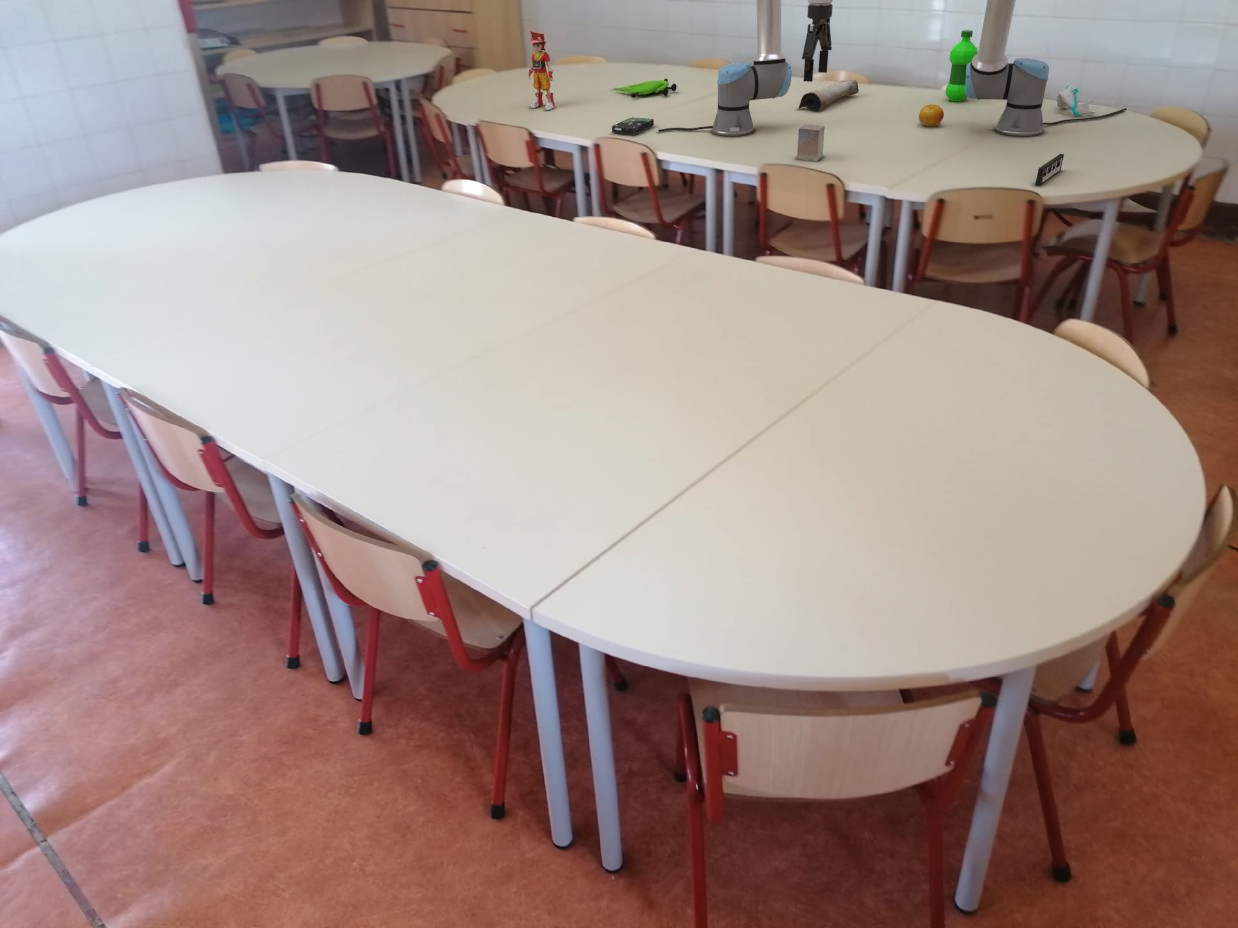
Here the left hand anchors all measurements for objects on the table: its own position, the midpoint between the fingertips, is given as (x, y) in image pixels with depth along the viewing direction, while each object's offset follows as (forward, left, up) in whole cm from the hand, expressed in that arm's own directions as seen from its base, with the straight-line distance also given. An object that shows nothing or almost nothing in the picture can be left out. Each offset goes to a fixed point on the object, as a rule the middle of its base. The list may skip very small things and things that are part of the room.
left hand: (815, 77), depth 289 cm
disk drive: (-76, +11, -26) cm, 81 cm away
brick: (0, 0, -26) cm, 26 cm away
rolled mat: (-20, +74, -26) cm, 81 cm away
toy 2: (-104, +68, -26) cm, 127 cm away
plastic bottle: (+26, +93, -26) cm, 100 cm away
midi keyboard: (+75, +5, -26) cm, 79 cm away
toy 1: (-131, +30, -26) cm, 137 cm away
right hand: (+37, +83, +15) cm, 92 cm away
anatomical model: (+69, +87, -26) cm, 114 cm away
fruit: (+26, +53, -26) cm, 65 cm away
